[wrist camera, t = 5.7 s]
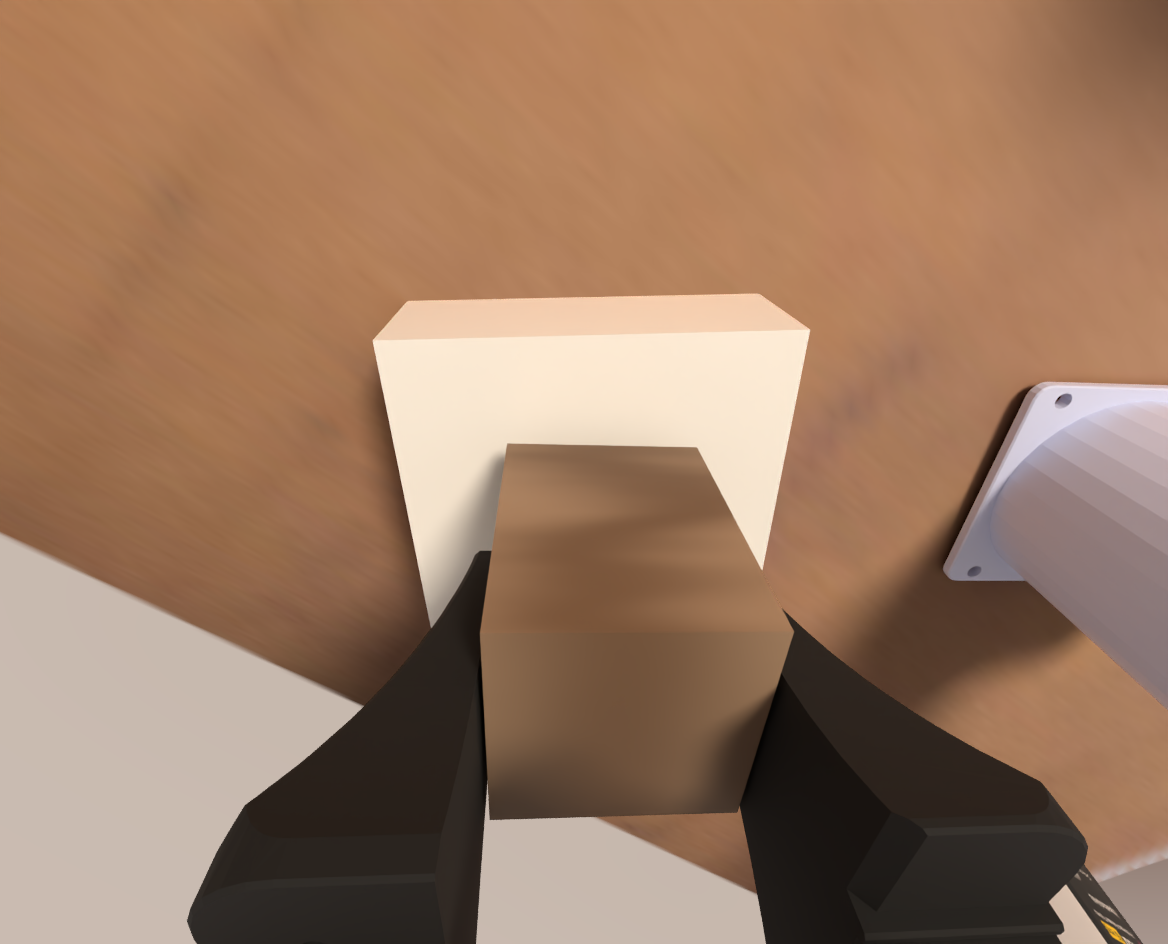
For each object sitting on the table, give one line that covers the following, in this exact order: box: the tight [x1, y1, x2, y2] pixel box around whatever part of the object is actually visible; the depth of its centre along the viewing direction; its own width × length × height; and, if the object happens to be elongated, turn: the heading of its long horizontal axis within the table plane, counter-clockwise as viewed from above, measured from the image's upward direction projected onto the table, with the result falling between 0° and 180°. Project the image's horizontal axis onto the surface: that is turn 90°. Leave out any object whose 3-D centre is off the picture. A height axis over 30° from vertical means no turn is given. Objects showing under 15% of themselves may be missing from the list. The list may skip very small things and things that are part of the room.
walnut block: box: [480, 443, 794, 820], centre depth 12 cm, size 4×4×6 cm
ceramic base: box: [373, 294, 810, 628], centre depth 17 cm, size 10×10×4 cm
